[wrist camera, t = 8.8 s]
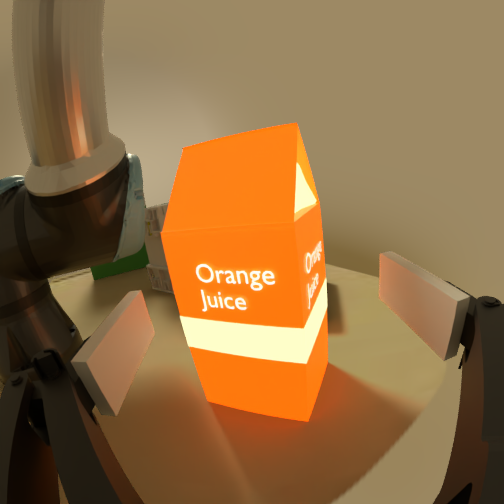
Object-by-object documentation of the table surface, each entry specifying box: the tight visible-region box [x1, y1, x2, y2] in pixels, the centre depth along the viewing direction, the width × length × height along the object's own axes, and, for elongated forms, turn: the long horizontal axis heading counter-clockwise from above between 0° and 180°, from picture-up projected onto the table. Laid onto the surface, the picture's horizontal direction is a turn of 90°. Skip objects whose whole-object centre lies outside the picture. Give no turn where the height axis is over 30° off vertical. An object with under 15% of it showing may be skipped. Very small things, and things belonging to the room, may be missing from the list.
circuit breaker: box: [144, 203, 174, 294], centre depth 51 cm, size 8×14×15 cm, turn 145°
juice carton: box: [160, 123, 328, 422], centre depth 20 cm, size 8×9×20 cm
